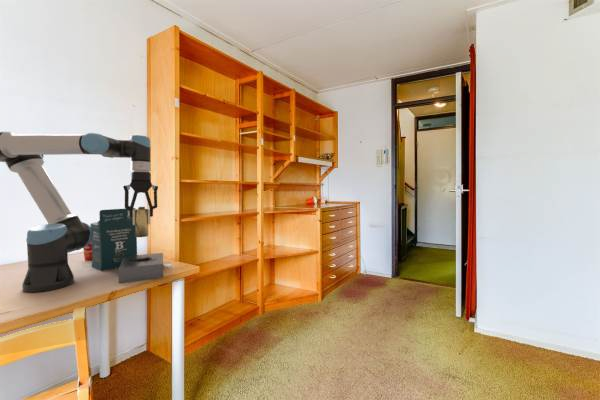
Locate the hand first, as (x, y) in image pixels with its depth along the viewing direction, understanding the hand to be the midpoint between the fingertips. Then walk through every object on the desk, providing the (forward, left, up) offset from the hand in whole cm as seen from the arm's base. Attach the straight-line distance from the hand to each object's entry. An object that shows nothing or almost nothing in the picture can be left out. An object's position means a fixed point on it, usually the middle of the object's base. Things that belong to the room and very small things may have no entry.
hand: (141, 224), depth 128 cm
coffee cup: (-26, +39, -22) cm, 52 cm away
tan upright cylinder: (0, 0, -5) cm, 5 cm away
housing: (0, 0, -22) cm, 22 cm away
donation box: (-14, +22, -22) cm, 34 cm away
